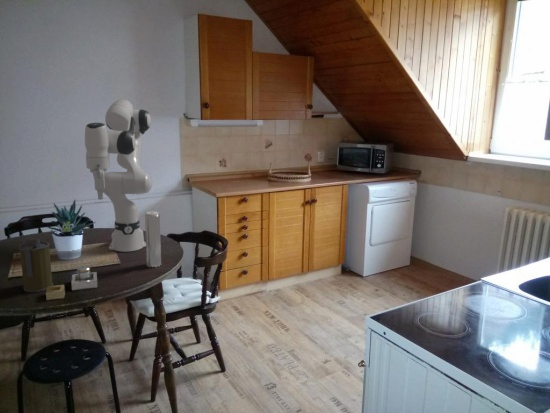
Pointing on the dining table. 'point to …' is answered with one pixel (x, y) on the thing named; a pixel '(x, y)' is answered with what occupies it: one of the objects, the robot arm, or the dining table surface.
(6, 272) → the dining table surface
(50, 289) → the narrow socket
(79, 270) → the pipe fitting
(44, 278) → the canister
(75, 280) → the wide socket
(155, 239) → the light grey piece
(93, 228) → the dining table surface
